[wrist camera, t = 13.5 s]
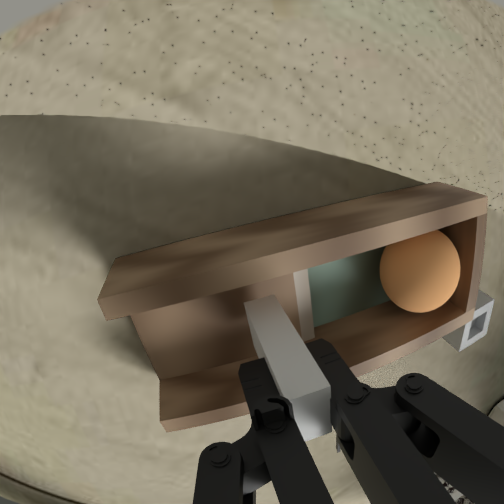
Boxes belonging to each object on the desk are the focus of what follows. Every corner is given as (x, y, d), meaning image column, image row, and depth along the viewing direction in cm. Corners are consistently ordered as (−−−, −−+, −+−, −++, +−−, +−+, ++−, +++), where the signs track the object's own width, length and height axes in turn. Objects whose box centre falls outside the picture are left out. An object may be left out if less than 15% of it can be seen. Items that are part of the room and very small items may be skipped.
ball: (415, 276, 21) (363, 303, 19) (417, 208, 19) (360, 229, 17) (469, 304, 16) (418, 342, 15) (479, 229, 14) (427, 258, 13)
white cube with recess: (437, 333, 23) (459, 351, 21) (442, 297, 22) (467, 315, 19) (464, 318, 24) (486, 334, 21) (470, 284, 22) (494, 299, 20)
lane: (165, 378, 19) (166, 432, 15) (115, 258, 16) (97, 299, 11) (433, 291, 21) (472, 319, 17) (437, 181, 18) (487, 196, 14)
